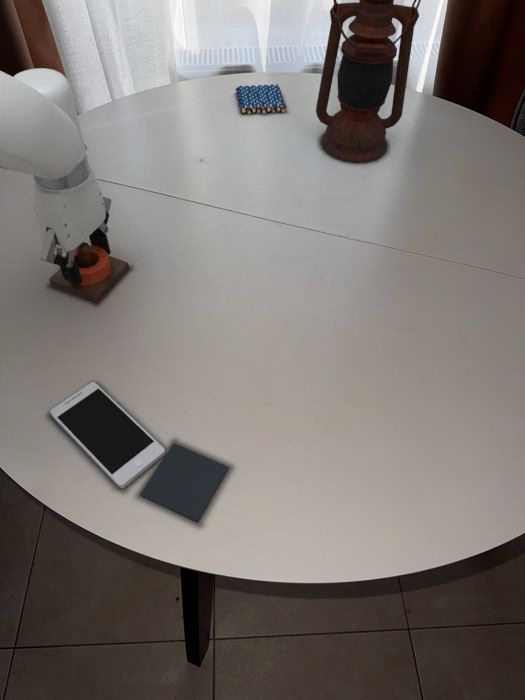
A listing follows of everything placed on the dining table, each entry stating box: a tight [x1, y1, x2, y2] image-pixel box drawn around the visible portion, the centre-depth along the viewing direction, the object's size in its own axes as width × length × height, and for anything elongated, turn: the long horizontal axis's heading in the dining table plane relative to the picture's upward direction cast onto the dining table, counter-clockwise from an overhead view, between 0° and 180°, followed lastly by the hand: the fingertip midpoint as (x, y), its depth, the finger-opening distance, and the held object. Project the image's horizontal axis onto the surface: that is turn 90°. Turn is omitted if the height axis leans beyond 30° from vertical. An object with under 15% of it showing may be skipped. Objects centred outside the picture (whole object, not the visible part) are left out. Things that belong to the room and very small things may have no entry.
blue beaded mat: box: [235, 83, 287, 115], centre depth 132 cm, size 10×11×2 cm
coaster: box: [139, 442, 230, 523], centre depth 71 cm, size 8×8×1 cm
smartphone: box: [49, 381, 166, 489], centre depth 75 cm, size 7×15×1 cm, turn 46°
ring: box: [64, 244, 111, 285], centre depth 92 cm, size 7×7×2 cm
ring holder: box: [48, 241, 131, 305], centre depth 92 cm, size 9×9×7 cm
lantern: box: [315, 0, 422, 164], centre depth 111 cm, size 17×14×30 cm
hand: (87, 265), depth 92 cm, fingers closed on ring, 6 cm apart
